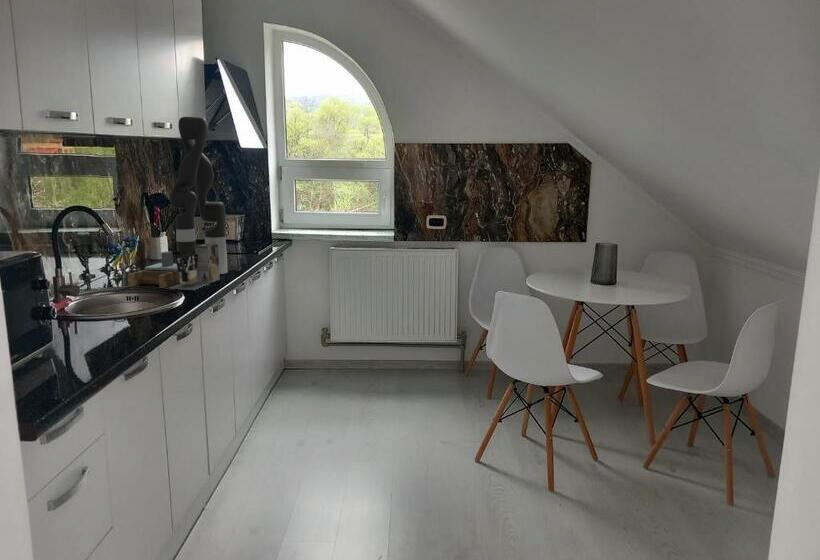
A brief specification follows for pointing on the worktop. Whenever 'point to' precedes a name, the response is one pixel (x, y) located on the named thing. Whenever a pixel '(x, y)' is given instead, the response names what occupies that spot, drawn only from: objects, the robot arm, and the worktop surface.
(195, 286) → the mat
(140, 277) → the organiser
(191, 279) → the block
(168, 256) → the lid
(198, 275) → the coffee box
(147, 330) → the worktop surface
